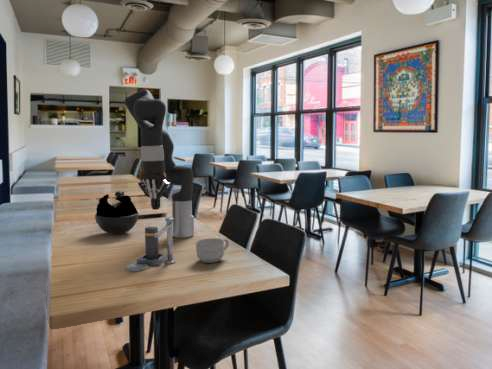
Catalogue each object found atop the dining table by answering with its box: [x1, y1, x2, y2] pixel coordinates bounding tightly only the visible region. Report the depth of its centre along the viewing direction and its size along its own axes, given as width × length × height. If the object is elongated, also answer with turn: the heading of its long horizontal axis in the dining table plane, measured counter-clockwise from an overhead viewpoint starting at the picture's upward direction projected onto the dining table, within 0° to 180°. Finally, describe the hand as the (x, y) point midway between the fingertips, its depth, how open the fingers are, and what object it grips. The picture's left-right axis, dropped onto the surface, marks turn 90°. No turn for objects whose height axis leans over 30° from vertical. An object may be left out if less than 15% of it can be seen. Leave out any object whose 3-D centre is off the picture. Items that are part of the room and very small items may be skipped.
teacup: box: [195, 237, 230, 264], centre depth 166 cm, size 14×11×8 cm
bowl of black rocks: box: [94, 194, 140, 236], centre depth 207 cm, size 20×20×19 cm
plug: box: [144, 226, 160, 259], centre depth 164 cm, size 5×5×13 cm
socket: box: [136, 252, 168, 267], centre depth 164 cm, size 9×9×2 cm
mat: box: [125, 262, 149, 272], centre depth 157 cm, size 8×8×1 cm
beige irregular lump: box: [111, 190, 125, 208], centre depth 234 cm, size 16×11×18 cm
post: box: [164, 221, 176, 265], centre depth 163 cm, size 4×4×16 cm
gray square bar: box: [154, 217, 174, 239], centre depth 153 cm, size 20×3×3 cm, turn 176°
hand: (156, 209), depth 149 cm, fingers closed
